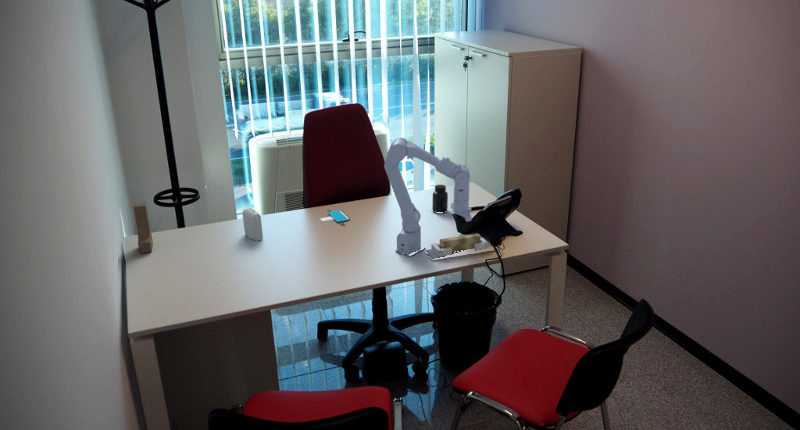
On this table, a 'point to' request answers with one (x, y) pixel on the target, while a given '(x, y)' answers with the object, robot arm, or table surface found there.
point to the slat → (460, 242)
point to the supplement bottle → (440, 199)
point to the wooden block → (143, 228)
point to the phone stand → (336, 217)
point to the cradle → (437, 252)
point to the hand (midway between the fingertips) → (460, 231)
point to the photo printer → (252, 224)
